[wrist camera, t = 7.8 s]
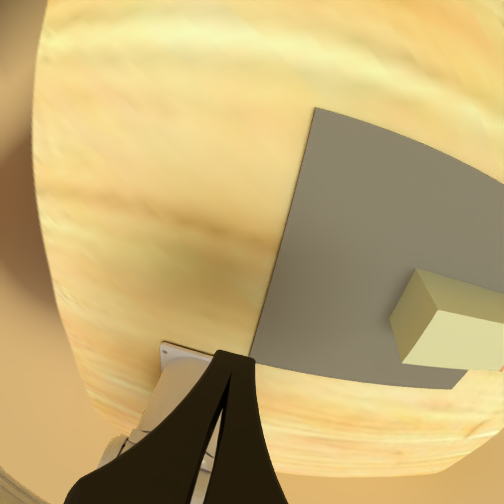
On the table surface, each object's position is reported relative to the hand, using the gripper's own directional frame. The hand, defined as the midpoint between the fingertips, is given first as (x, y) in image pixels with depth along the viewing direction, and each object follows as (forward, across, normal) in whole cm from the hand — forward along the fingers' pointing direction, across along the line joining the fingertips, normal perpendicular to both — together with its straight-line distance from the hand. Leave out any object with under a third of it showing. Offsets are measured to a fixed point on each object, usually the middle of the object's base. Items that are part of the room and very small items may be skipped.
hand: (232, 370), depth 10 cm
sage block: (+8, -10, +1) cm, 13 cm away
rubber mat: (+10, -12, +1) cm, 16 cm away
